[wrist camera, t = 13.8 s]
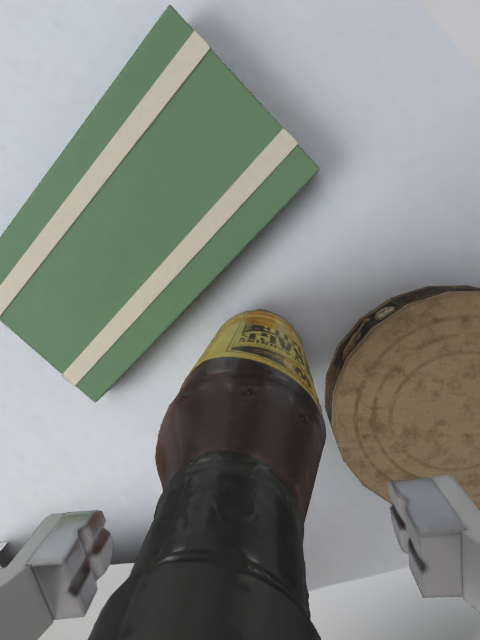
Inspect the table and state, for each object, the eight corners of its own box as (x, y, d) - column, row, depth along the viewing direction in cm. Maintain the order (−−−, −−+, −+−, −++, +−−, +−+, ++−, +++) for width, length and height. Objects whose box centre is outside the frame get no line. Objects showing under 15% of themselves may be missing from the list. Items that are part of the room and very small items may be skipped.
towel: (179, 27, 19) (169, 1, 17) (315, 175, 21) (320, 168, 19) (-14, 284, 24) (-39, 288, 22) (107, 391, 25) (94, 403, 23)
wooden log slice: (336, 494, 26) (346, 525, 23) (310, 305, 23) (317, 314, 20) (548, 473, 24) (587, 504, 21) (555, 265, 21) (602, 268, 18)
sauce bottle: (317, 350, 23) (564, 853, 4) (253, 401, 25) (215, 959, 5) (258, 284, 23) (221, 523, 3) (195, 339, 24) (-91, 741, 5)
